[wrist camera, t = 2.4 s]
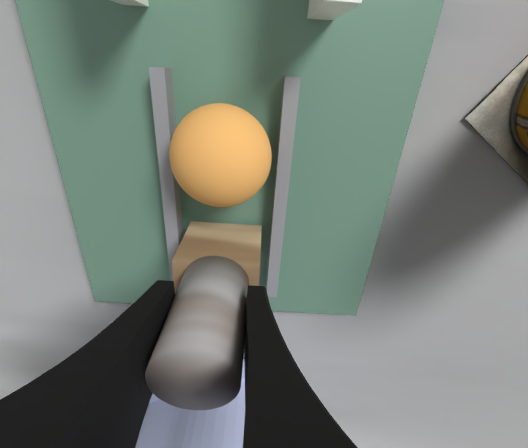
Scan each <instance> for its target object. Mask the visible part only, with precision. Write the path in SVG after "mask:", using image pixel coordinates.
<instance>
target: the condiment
mask: <svg viewBox="0 0 528 448" xmlns="http://www.w3.org/2000/svg"><path fill="white" fill-rule="evenodd" d="M465 119H466V120H467V121H468V122H469V123H470V124H471V125H472V126H473V127H474V128H475V129H476V130H477V131H478V132H479V133H480V135H481V136H482V137H483V138H484V139H485V140H486V141H487V142H488V143H489V144H490V145H491V146H492V147H493V148H494V149H495V150H496V152H497V153H498V154H499V155H500V156H501V157H502V158H503V159H504V160H505V161H507V163H508V164H509V165H510V166H511V167H512V168H513V169H514V170H515V171H516V172H517V173H518V174H519V175H520V176H521V177H522V178H524V179H525V180H526V181H527V182H528V56H527V57H526V58H525V59H524V60H523V62H522V63H521V64H519V65H518V66H517V67H516V68H515V69H514V70H513V71H512V72H511V73H510V74H509V75H508V76H507V77H506V78H505V79H504V80H503V82H502V83H500V84H499V85H498V86H497V88H496V89H495V90H494V91H493V92H492V93H491V94H490V95H489V96H488V97H487V98H486V99H485V100H484V101H483V102H482V103H481V104H480V105H479V106H478V107H477V108H476V109H475V110H474V111H472V112H471V113H470V114H469V115H468V116H467V117H466V118H465Z"/></svg>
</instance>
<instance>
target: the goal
mask: <svg viewBox="0 0 528 448" xmlns="http://www.w3.org/2000/svg"><path fill="white" fill-rule="evenodd" d="M111 1H114V2H116V3H119V4H122V5H133V6H146V7H149V4H148V0H111ZM361 3H362V0H309V6H308V15H307V19H319V20H335V19H336V18H338V17H340V16H341V15H343V14H345V13H346V12H348V11H349V10H351V9H353V8H354V7H356V6H358V5H359V4H361Z"/></svg>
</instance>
